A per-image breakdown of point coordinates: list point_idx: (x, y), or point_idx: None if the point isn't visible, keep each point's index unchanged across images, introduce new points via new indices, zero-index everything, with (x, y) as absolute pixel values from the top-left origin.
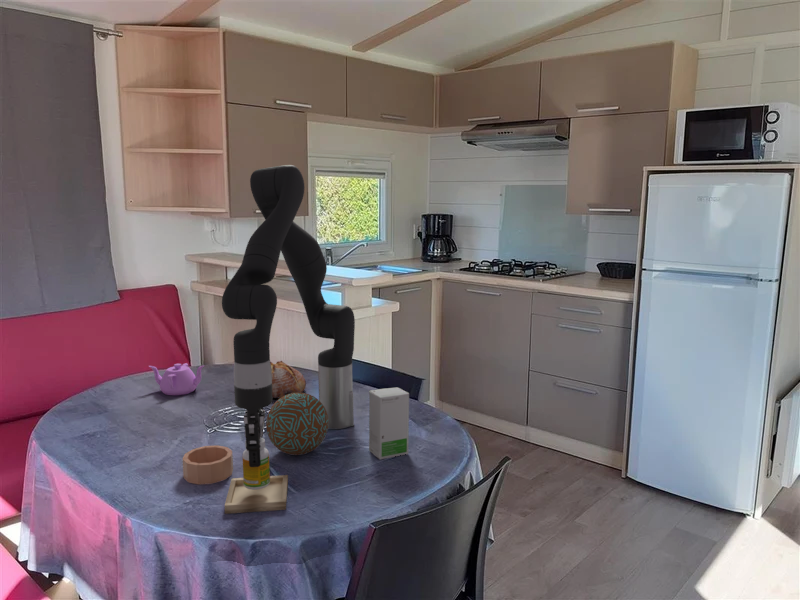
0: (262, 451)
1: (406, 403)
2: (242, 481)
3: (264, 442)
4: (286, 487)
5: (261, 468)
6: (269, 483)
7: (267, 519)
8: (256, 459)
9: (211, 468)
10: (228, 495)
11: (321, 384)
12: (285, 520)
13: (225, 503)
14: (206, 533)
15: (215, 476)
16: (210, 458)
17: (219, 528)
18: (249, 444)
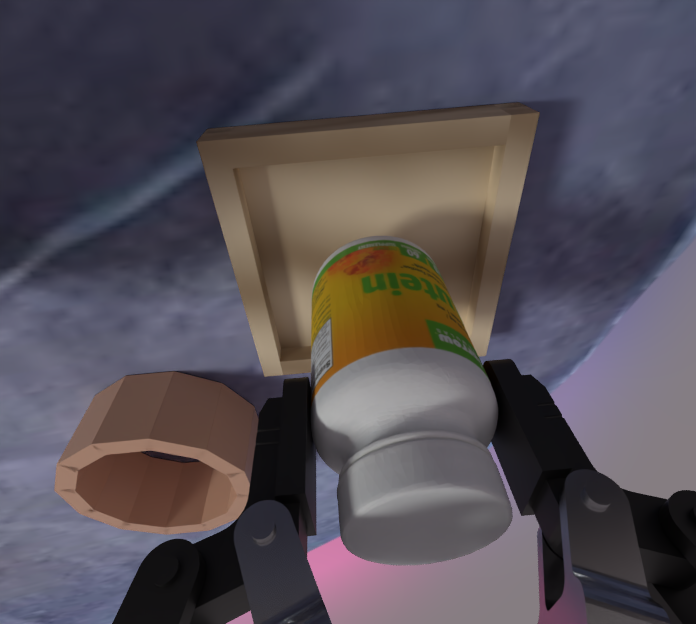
0: (454, 415)
1: None
2: (275, 337)
3: (453, 473)
4: (367, 129)
5: (465, 332)
6: (266, 227)
7: (575, 182)
8: (557, 416)
9: (244, 454)
10: None
11: None
12: (624, 91)
13: None
14: (578, 352)
15: (241, 417)
16: (105, 458)
17: (565, 328)
18: (686, 589)
